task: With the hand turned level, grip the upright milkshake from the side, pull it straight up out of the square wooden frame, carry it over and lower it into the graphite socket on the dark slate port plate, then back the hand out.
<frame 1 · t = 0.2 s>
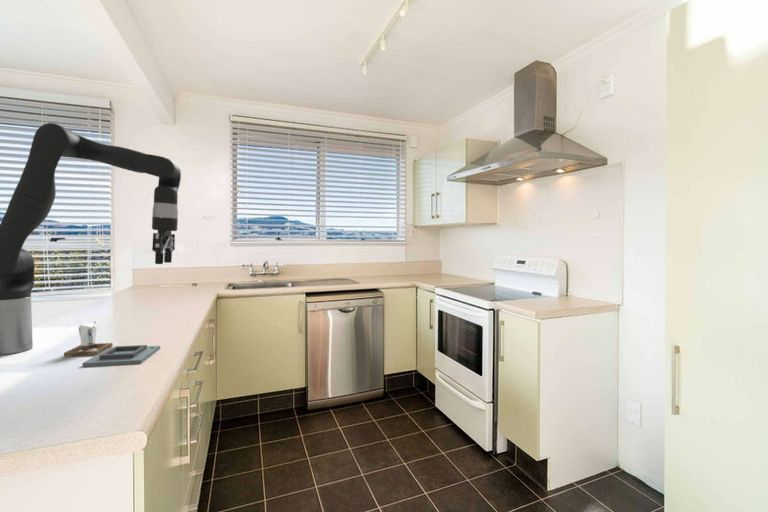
hand: (163, 263, 123), 28 cm above the countertop, tool pointing down, fingers open, 8 cm apart
square wooden frame: (89, 351, 114), on the countertop
port plate: (124, 356, 109), on the countertop
milkshake: (89, 351, 114), on the countertop
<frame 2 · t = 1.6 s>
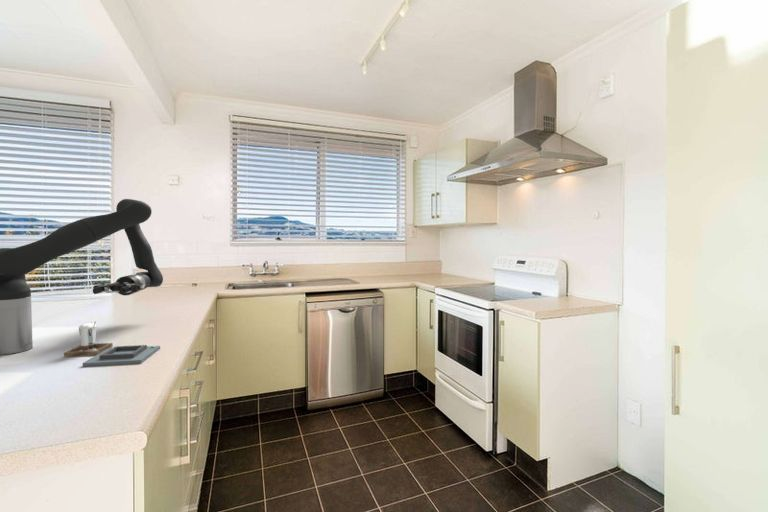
hand: (108, 290, 125), 18 cm above the countertop, tool horizontal, fingers open, 8 cm apart
nothing on the countertop moved.
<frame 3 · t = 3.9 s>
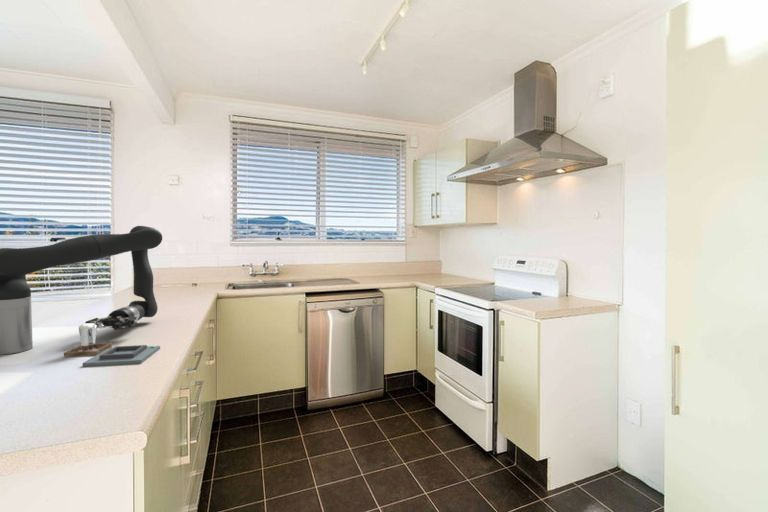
hand: (101, 327, 121), 6 cm above the countertop, tool horizontal, fingers open, 8 cm apart
nothing on the countertop moved.
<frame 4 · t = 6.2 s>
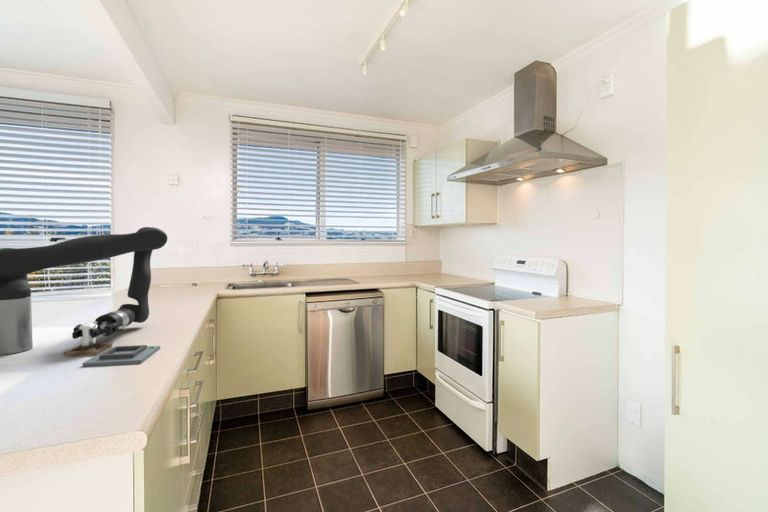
hand: (83, 335, 111), 6 cm above the countertop, tool horizontal, fingers closed on milkshake, 4 cm apart
milkshake: (89, 351, 114), on the countertop, touching gripper
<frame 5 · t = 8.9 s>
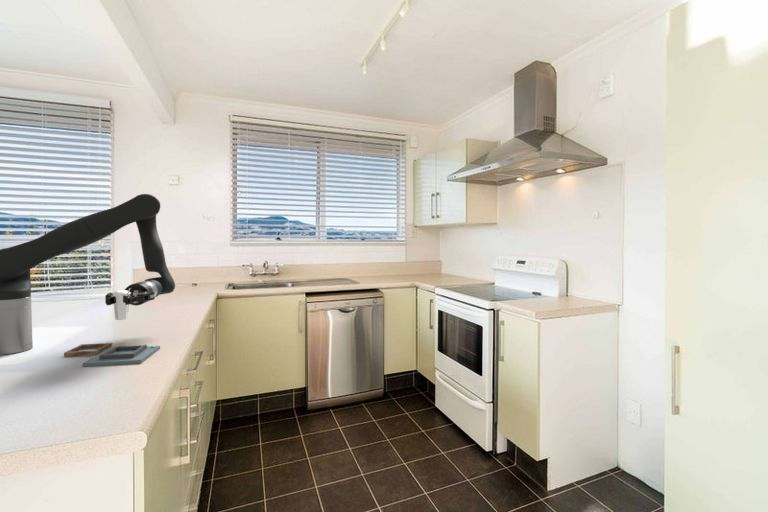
hand: (117, 301, 107), 18 cm above the countertop, tool horizontal, fingers closed on milkshake, 4 cm apart
milkshake: (122, 319, 110), point 11 cm above the countertop, touching gripper
when the fingers open (8 cm above the countertop, at t = 11.9 s): milkshake moves 2 cm, resting on port plate.
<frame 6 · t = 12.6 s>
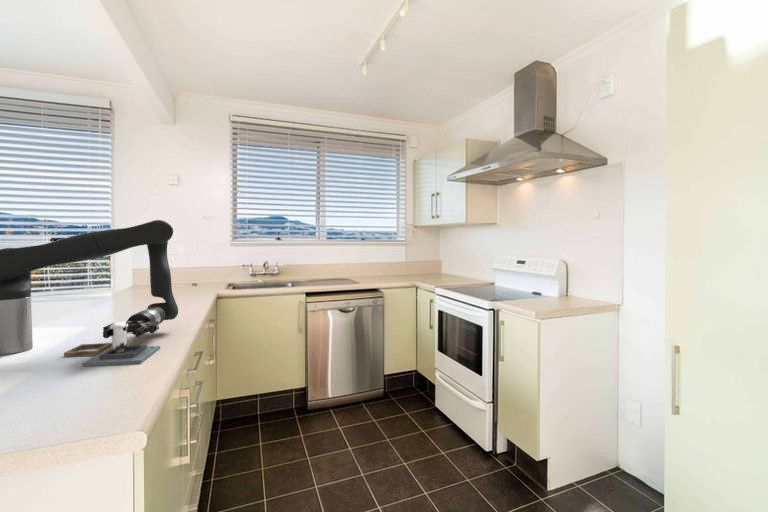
hand: (121, 334, 107), 8 cm above the countertop, tool horizontal, fingers open, 8 cm apart
milkshake: (120, 351, 110), point 1 cm above the countertop, touching gripper, port plate
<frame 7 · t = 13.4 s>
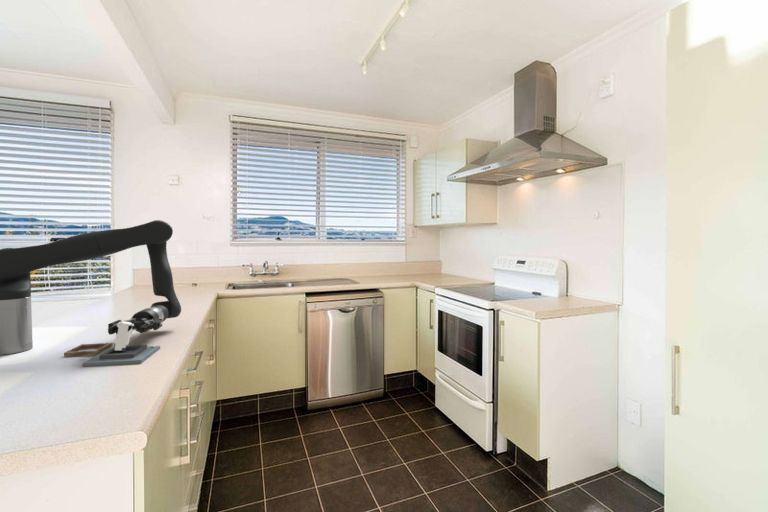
hand: (125, 330, 110), 8 cm above the countertop, tool horizontal, fingers open, 8 cm apart
milkshake: (121, 351, 110), point 1 cm above the countertop, touching port plate
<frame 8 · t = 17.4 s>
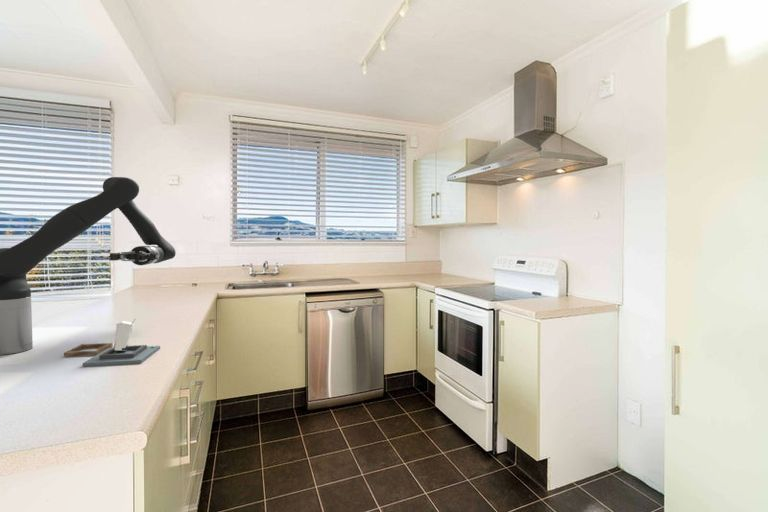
hand: (125, 257, 125), 30 cm above the countertop, tool horizontal, fingers open, 8 cm apart
nothing on the countertop moved.
at the end: milkshake 2.1 cm off-centre on the port plate, point 1.4 cm above the port plate's base; milkshake tilted 19°; the gripper is holding nothing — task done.
